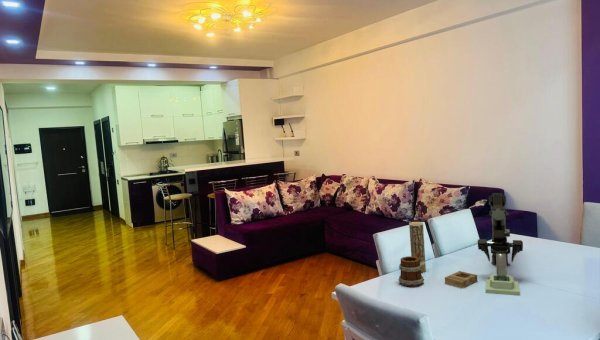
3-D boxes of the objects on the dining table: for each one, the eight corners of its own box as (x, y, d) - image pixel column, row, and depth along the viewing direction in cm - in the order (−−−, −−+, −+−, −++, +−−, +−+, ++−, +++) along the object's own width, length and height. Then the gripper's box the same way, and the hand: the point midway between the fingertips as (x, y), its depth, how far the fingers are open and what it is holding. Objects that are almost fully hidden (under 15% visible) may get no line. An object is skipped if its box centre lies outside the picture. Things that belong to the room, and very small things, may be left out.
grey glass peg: (500, 282, 182) (499, 251, 181) (508, 285, 179) (508, 253, 178) (495, 284, 180) (494, 253, 179) (503, 287, 177) (502, 255, 176)
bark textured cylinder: (426, 273, 206) (423, 224, 204) (412, 273, 208) (409, 224, 206) (425, 268, 213) (422, 221, 211) (411, 268, 214) (408, 222, 212)
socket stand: (485, 282, 188) (485, 272, 188) (517, 284, 183) (517, 274, 182) (485, 292, 176) (485, 282, 176) (519, 295, 171) (519, 284, 171)
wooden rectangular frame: (459, 277, 197) (459, 270, 197) (477, 281, 190) (477, 275, 190) (445, 283, 190) (444, 277, 190) (462, 288, 183) (462, 282, 183)
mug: (393, 284, 193) (393, 253, 194) (406, 280, 204) (407, 250, 205) (416, 289, 186) (416, 256, 187) (429, 284, 196) (429, 253, 197)
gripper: (476, 222, 193) (477, 252, 183) (521, 222, 185) (524, 254, 176) (478, 234, 200) (478, 263, 191) (521, 235, 192) (523, 266, 183)
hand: (500, 261), depth 185 cm, fingers open, 9 cm apart
